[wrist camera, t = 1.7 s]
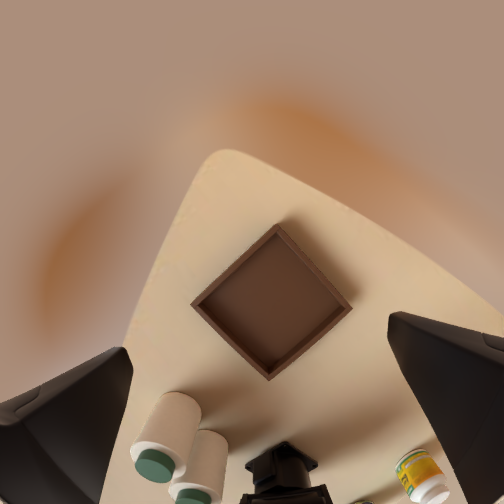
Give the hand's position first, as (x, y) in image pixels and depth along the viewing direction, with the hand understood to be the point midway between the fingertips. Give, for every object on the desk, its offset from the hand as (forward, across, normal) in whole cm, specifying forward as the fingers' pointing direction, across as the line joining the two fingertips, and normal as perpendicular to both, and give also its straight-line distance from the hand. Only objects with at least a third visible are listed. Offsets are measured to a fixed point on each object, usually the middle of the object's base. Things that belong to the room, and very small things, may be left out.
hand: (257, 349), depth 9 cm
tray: (+16, -1, +6) cm, 17 cm away
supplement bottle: (+11, -18, +33) cm, 39 cm away
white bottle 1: (+14, +10, +17) cm, 24 cm away
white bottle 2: (+13, +8, +22) cm, 27 cm away
